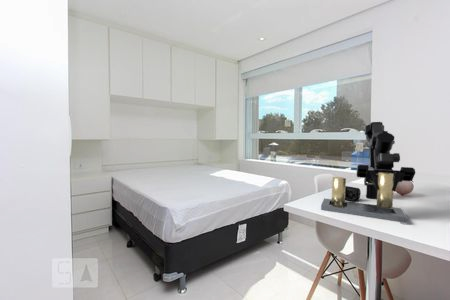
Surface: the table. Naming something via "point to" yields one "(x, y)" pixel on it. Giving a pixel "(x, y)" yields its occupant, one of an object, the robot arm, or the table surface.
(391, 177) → the brass billet
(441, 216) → the table surface
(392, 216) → the plate
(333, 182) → the cylinder
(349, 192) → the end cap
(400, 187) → the decorative fruit
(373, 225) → the table surface
